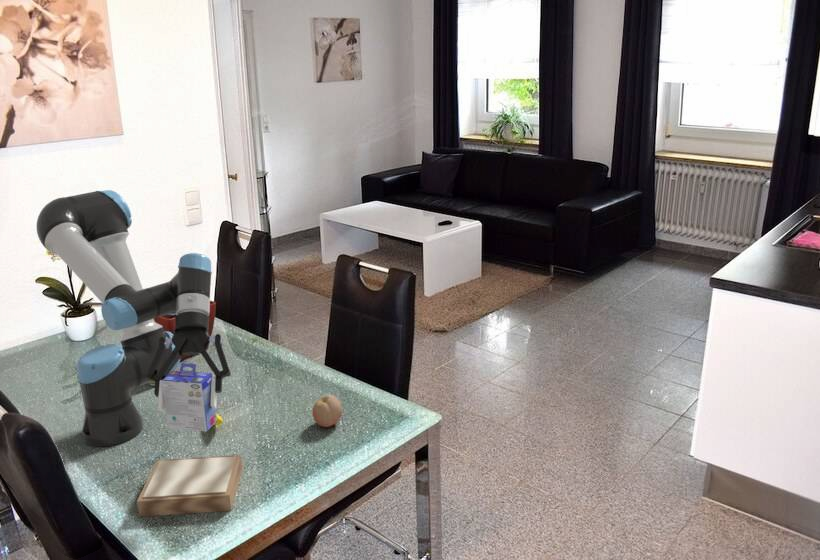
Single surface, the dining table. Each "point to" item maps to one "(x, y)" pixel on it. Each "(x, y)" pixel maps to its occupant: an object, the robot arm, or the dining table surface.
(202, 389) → the ink cartridge box
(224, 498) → the wooden box
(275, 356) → the dining table surface
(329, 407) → the fruit
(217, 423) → the banana
